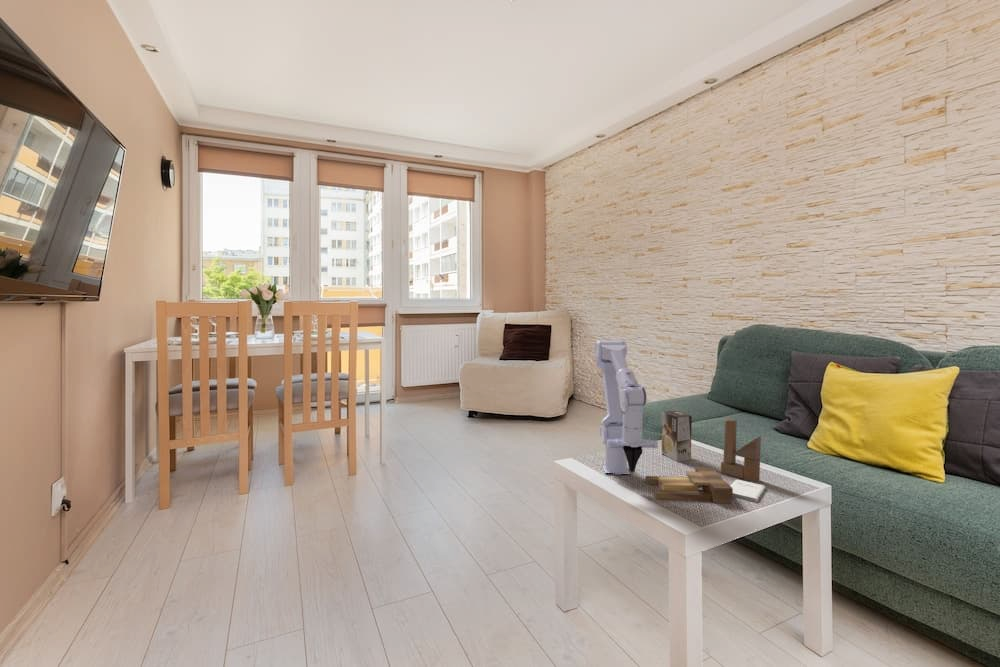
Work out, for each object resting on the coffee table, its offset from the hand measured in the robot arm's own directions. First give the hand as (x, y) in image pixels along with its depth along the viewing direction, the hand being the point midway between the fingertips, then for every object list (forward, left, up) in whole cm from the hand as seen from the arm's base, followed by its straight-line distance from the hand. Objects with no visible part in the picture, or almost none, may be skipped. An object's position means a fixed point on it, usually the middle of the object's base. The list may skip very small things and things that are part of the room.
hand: (631, 470), depth 139 cm
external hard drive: (-1, +33, -6) cm, 34 cm away
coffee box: (-31, +22, -6) cm, 38 cm away
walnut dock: (0, +16, -6) cm, 17 cm away
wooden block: (-13, +37, -6) cm, 39 cm away
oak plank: (0, +14, -6) cm, 15 cm away
